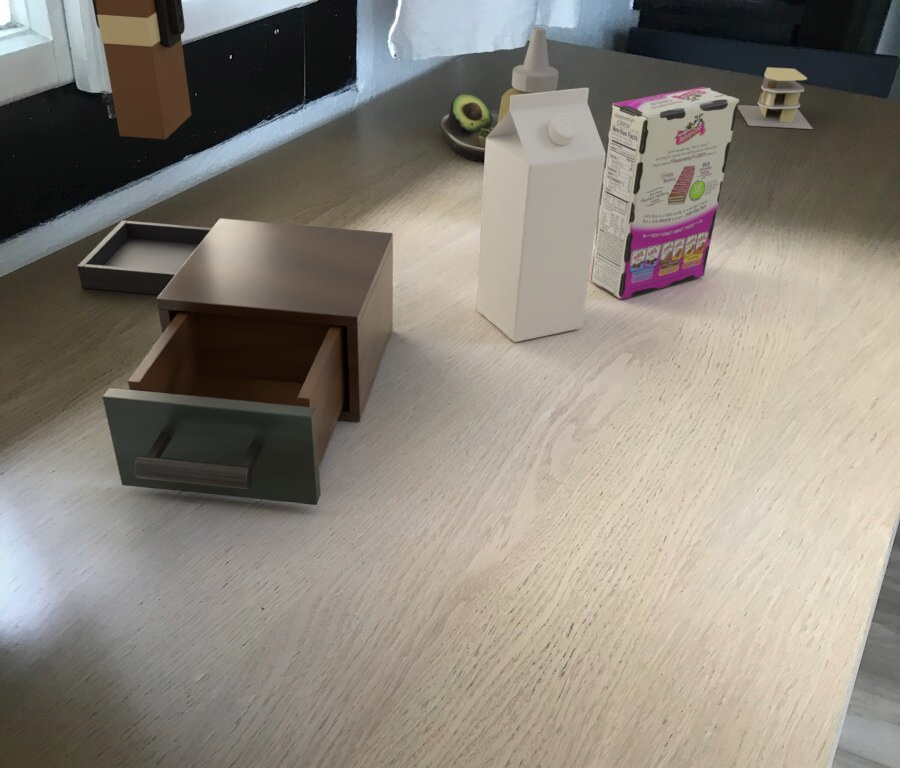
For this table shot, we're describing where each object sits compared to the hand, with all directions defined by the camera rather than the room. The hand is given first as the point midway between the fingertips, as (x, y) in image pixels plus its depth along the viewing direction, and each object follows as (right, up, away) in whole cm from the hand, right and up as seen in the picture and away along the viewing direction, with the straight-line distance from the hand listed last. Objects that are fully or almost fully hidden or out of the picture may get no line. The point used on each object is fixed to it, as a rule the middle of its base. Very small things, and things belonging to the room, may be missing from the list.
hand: (143, 38), depth 81 cm
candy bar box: (+45, -15, +16) cm, 50 cm away
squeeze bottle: (+33, -4, +28) cm, 44 cm away
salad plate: (+32, +13, +46) cm, 57 cm away
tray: (-1, -15, +13) cm, 20 cm away
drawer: (+10, -36, -11) cm, 39 cm away
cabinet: (+12, -27, 0) cm, 29 cm away
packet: (0, -5, +4) cm, 7 cm away
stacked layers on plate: (+71, +22, +59) cm, 95 cm away
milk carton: (+32, -21, +8) cm, 39 cm away
